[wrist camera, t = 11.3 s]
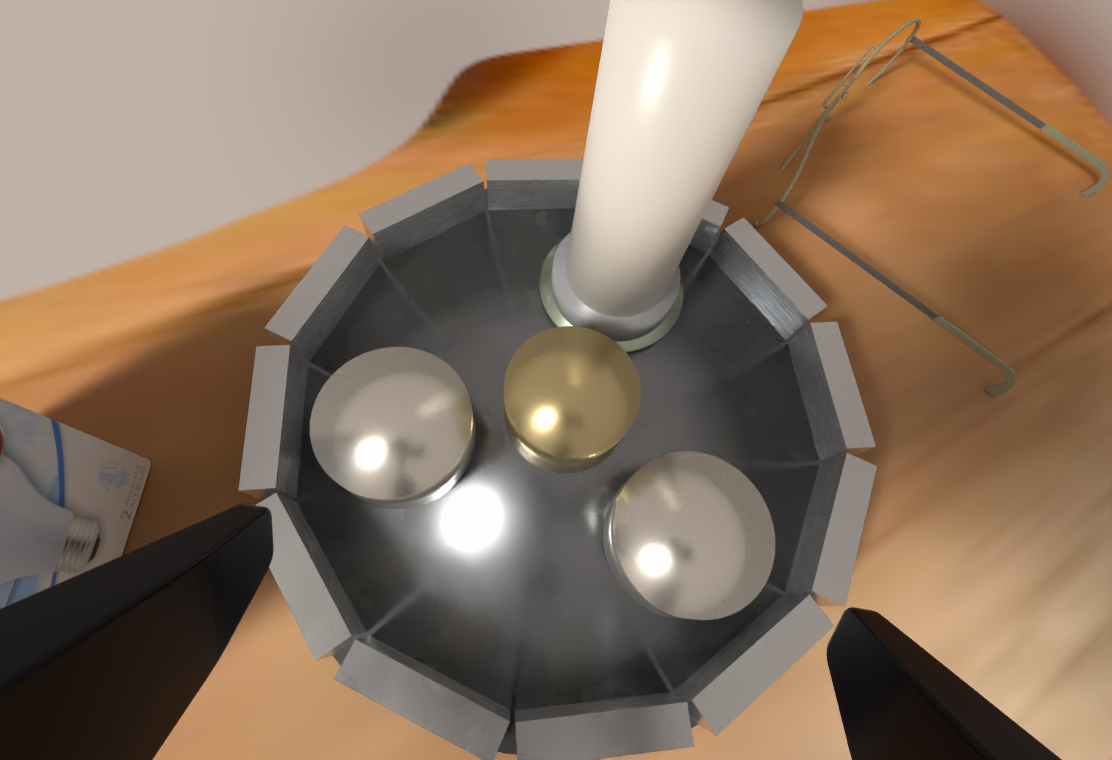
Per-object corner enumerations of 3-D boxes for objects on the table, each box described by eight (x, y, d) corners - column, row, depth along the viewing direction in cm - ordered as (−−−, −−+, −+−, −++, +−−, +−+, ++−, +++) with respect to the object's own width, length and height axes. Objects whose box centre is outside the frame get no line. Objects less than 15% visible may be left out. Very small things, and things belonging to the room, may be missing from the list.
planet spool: (697, 302, 25) (874, 24, 13) (600, 364, 23) (697, 113, 11) (623, 216, 26) (718, -105, 14) (526, 269, 25) (543, -42, 13)
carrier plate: (907, 707, 21) (1000, 732, 17) (234, 792, 18) (159, 844, 14) (763, 195, 29) (802, 134, 26) (297, 203, 27) (261, 135, 23)
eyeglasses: (856, 73, 34) (910, -9, 30) (1081, 201, 32) (1179, 133, 27) (727, 231, 29) (769, 161, 24) (988, 400, 26) (1090, 358, 22)
